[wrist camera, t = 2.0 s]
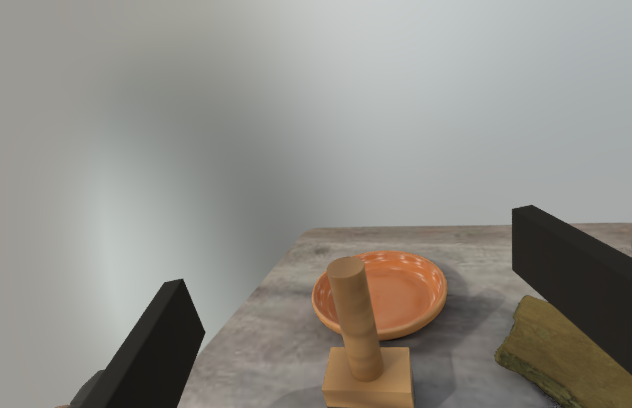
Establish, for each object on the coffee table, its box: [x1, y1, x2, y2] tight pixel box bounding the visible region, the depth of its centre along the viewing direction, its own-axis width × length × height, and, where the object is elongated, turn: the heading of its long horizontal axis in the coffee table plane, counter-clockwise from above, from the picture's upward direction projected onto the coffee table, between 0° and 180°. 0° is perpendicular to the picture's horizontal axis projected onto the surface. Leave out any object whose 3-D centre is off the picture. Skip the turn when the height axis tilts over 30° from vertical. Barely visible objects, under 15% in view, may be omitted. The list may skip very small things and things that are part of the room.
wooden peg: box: [322, 257, 416, 408], centre depth 27 cm, size 7×4×14 cm, turn 78°
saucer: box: [312, 251, 447, 341], centre depth 40 cm, size 16×16×3 cm
